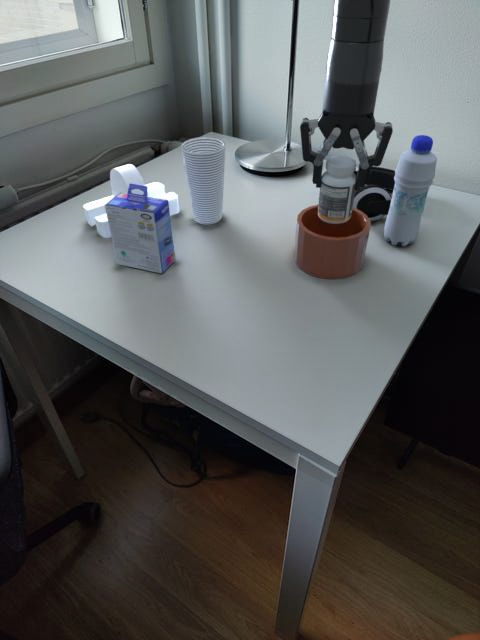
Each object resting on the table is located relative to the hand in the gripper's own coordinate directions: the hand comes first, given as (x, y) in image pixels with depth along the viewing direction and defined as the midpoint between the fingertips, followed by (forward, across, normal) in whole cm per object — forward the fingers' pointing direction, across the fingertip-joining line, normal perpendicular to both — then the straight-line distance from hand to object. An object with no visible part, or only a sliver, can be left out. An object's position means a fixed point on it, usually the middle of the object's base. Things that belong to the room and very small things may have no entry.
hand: (338, 186), depth 76 cm
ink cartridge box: (+14, -33, -7) cm, 37 cm away
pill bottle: (+6, 0, 0) cm, 6 cm away
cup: (+14, -26, +11) cm, 32 cm away
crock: (+14, 0, 0) cm, 14 cm away
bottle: (+14, +13, +9) cm, 21 cm away
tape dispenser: (+14, -42, +9) cm, 45 cm away
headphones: (+14, +8, +23) cm, 28 cm away
